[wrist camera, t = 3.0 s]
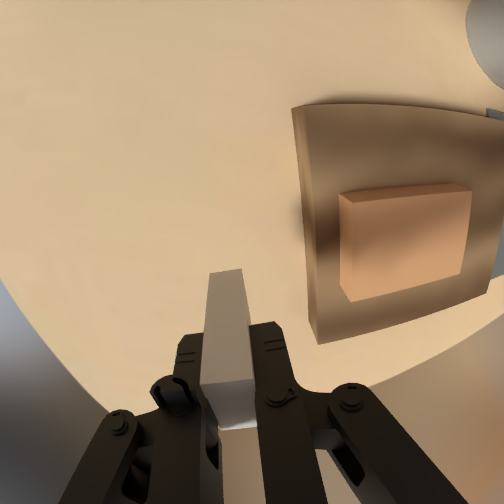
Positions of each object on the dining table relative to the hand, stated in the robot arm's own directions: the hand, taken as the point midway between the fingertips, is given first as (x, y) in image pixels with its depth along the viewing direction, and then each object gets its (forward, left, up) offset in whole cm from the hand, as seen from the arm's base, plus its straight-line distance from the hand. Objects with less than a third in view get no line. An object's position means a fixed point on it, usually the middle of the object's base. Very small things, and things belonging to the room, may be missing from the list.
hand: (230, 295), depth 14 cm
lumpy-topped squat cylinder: (-17, +29, -7) cm, 34 cm away
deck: (0, +14, -6) cm, 15 cm away
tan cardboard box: (0, +11, -3) cm, 12 cm away
